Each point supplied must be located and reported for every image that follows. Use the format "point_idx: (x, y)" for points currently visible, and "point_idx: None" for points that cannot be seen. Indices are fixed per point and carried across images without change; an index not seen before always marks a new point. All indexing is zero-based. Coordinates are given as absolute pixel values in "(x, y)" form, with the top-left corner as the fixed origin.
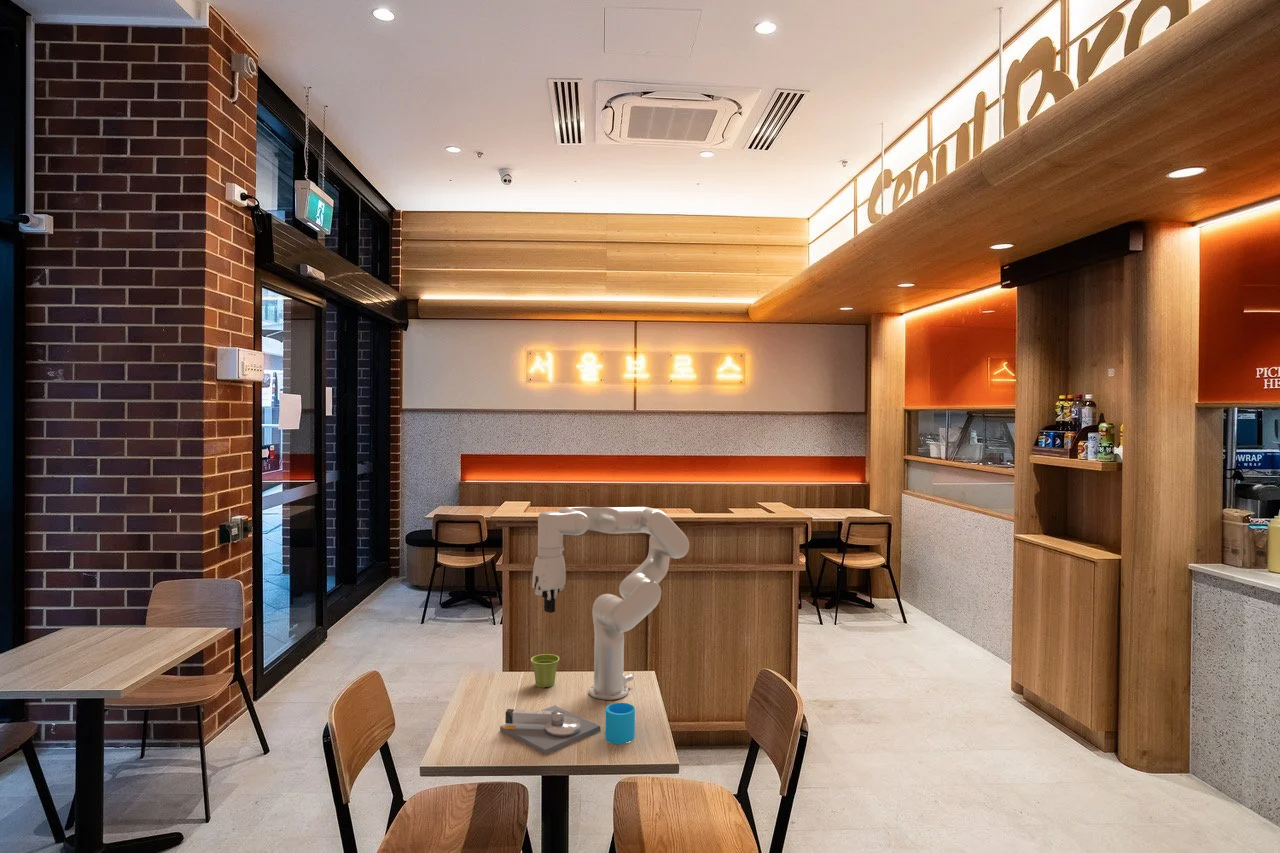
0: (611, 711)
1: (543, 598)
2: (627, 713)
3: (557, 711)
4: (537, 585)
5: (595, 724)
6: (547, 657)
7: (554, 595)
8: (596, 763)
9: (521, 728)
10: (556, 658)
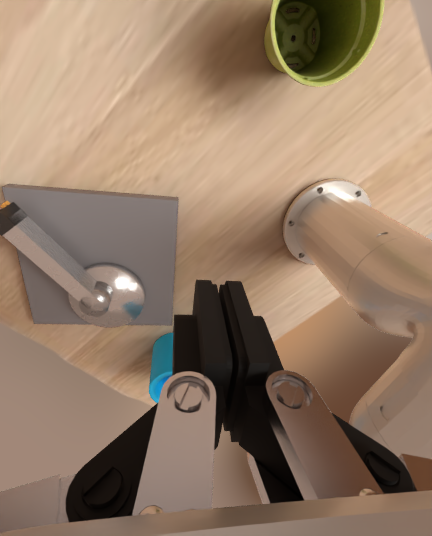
0: None
1: (170, 384)
2: None
3: (98, 300)
4: None
5: (169, 317)
6: None
7: (256, 479)
8: (90, 374)
9: None
10: (365, 42)
